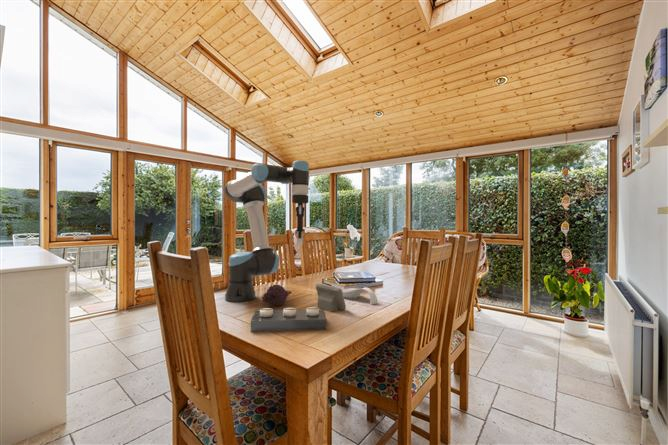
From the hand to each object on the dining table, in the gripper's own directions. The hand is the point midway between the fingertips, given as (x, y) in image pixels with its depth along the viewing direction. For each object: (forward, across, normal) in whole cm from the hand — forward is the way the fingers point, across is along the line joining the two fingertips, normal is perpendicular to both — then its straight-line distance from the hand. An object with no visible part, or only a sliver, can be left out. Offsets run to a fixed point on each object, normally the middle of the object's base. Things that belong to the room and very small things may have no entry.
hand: (299, 245), depth 143 cm
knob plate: (+29, -23, +4) cm, 37 cm away
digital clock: (+30, -1, -15) cm, 33 cm away
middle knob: (+29, -23, +4) cm, 37 cm away
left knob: (+29, -23, +13) cm, 39 cm away
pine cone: (+30, +4, +11) cm, 32 cm away
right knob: (+29, -23, -5) cm, 37 cm away
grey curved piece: (+30, +13, -31) cm, 45 cm away
